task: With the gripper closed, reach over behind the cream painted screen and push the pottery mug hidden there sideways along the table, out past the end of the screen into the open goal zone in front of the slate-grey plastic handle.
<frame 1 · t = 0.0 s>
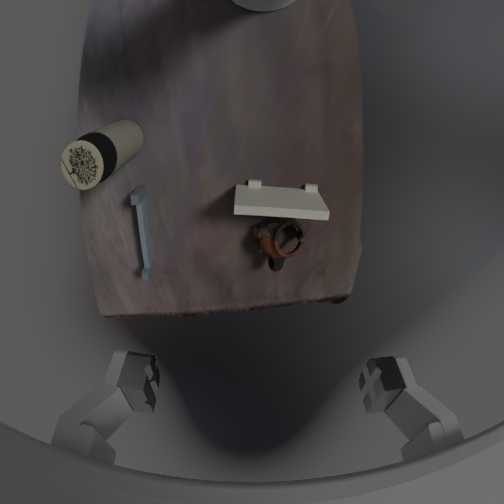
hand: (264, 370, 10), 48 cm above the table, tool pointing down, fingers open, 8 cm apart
travel mug: (125, 138, 50), on the table
handle: (146, 229, 61), on the table
pottery mug: (276, 234, 63), on the table
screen: (277, 190, 57), on the table
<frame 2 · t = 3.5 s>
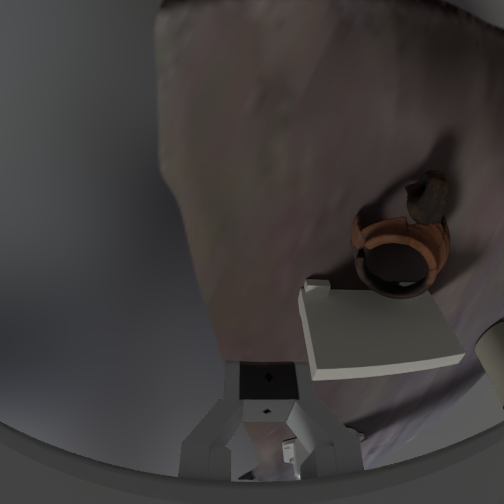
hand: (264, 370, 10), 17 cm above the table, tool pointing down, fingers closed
travel mug: (490, 336, 37), on the table
pottery mug: (397, 215, 25), on the table
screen: (369, 295, 30), on the table
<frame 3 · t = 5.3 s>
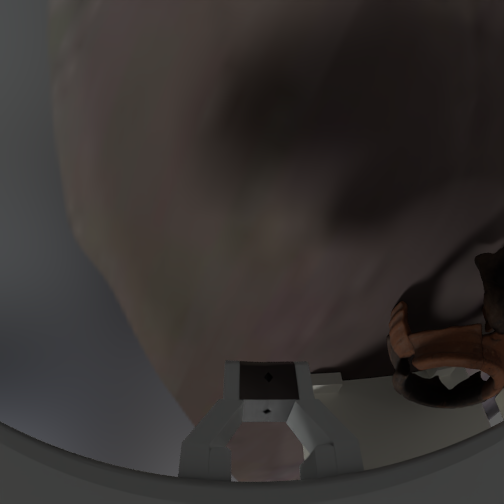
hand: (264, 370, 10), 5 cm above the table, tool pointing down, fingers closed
pottery mug: (451, 289, 16), on the table
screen: (391, 380, 21), on the table
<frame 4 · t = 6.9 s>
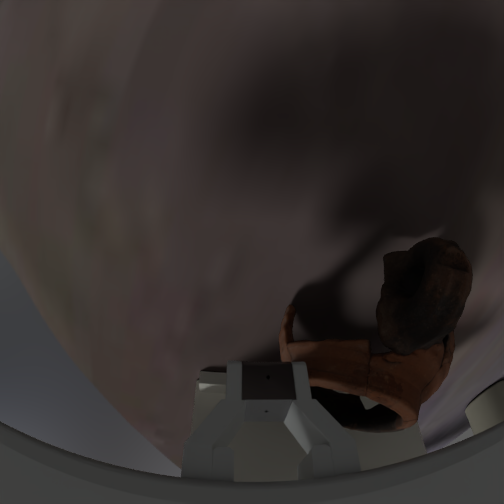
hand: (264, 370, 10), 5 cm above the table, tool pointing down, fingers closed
travel mug: (486, 394, 27), on the table
pottery mug: (368, 294, 15), on the table, touching gripper
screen: (305, 388, 20), on the table
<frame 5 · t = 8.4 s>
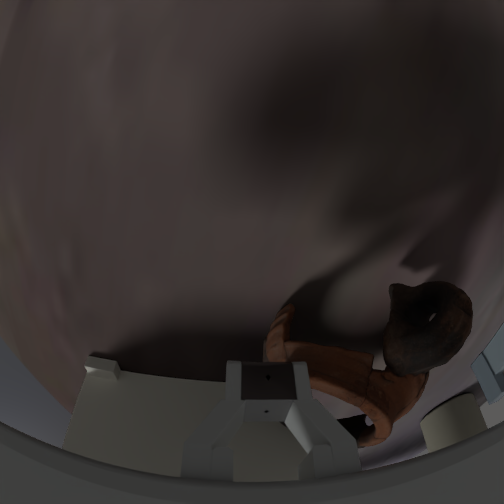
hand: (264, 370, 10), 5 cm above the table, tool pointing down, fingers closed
travel mug: (446, 407, 27), on the table
pottery mug: (355, 315, 16), on the table, touching gripper
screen: (190, 385, 20), on the table
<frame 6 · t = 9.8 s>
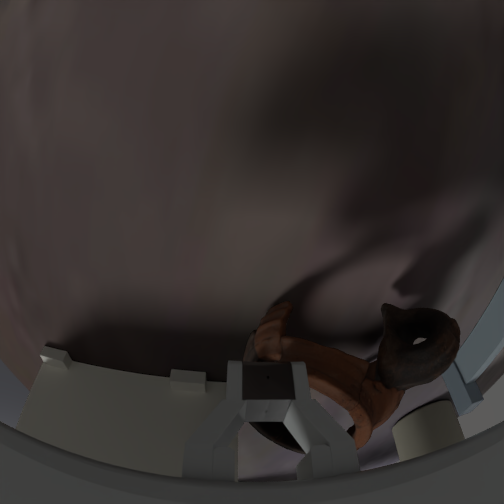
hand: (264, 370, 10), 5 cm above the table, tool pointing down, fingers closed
travel mug: (420, 414, 27), on the table
handle: (503, 286, 16), on the table
pottery mug: (338, 327, 17), on the table, touching gripper
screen: (133, 378, 20), on the table
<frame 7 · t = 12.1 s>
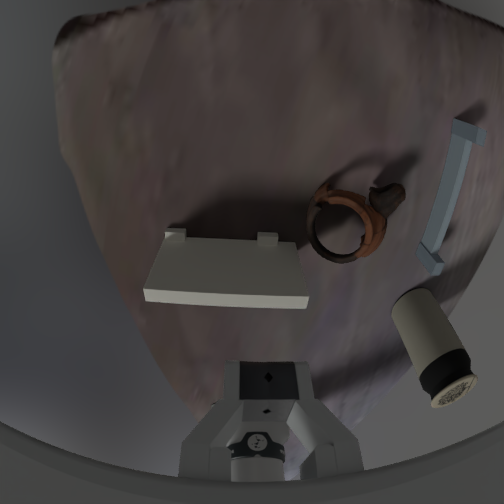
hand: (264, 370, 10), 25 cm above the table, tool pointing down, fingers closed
travel mug: (411, 304, 44), on the table
handle: (441, 191, 32), on the table
pottery mug: (350, 204, 34), on the table
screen: (229, 244, 36), on the table
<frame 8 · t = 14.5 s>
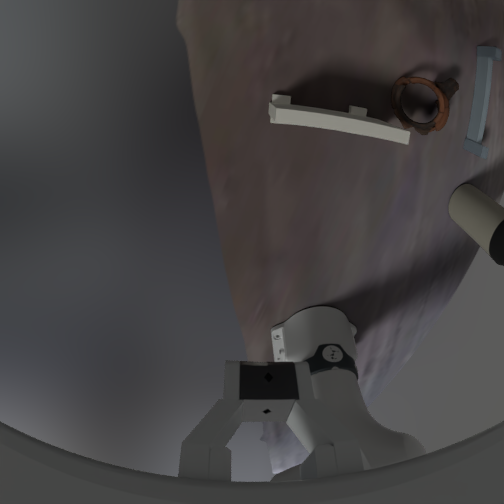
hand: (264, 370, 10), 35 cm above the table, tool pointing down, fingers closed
travel mug: (462, 202, 44), on the table
handle: (475, 97, 33), on the table
pottery mug: (417, 99, 35), on the table
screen: (325, 114, 37), on the table
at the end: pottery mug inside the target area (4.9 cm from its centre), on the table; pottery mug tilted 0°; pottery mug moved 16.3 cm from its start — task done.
